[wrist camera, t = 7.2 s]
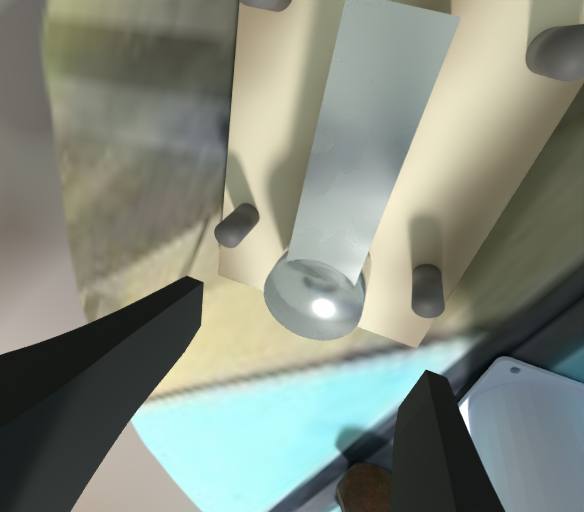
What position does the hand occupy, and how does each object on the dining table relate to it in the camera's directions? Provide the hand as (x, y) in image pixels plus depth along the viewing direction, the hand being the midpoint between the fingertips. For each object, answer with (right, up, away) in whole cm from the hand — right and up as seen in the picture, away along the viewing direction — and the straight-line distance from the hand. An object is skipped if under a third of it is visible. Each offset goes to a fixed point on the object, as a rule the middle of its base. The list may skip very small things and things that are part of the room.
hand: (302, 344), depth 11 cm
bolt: (+7, -22, +24) cm, 33 cm away
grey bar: (+3, +6, +6) cm, 9 cm away
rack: (+3, +8, +6) cm, 10 cm away
